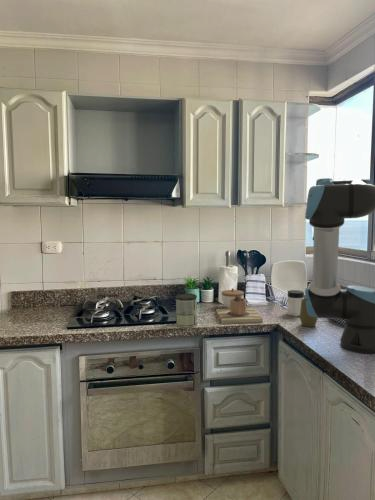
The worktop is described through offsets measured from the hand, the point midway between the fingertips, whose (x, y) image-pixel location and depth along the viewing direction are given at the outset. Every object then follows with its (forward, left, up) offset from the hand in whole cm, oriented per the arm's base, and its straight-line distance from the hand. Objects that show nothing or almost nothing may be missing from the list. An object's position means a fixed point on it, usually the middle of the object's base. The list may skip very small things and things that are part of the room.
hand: (323, 256), depth 172 cm
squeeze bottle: (-5, +9, -32) cm, 33 cm away
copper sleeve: (+12, +39, -29) cm, 50 cm away
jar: (+15, +8, -32) cm, 36 cm away
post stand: (+12, +39, -32) cm, 52 cm away
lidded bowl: (+33, +38, -32) cm, 60 cm away
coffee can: (+3, +66, -32) cm, 73 cm away
